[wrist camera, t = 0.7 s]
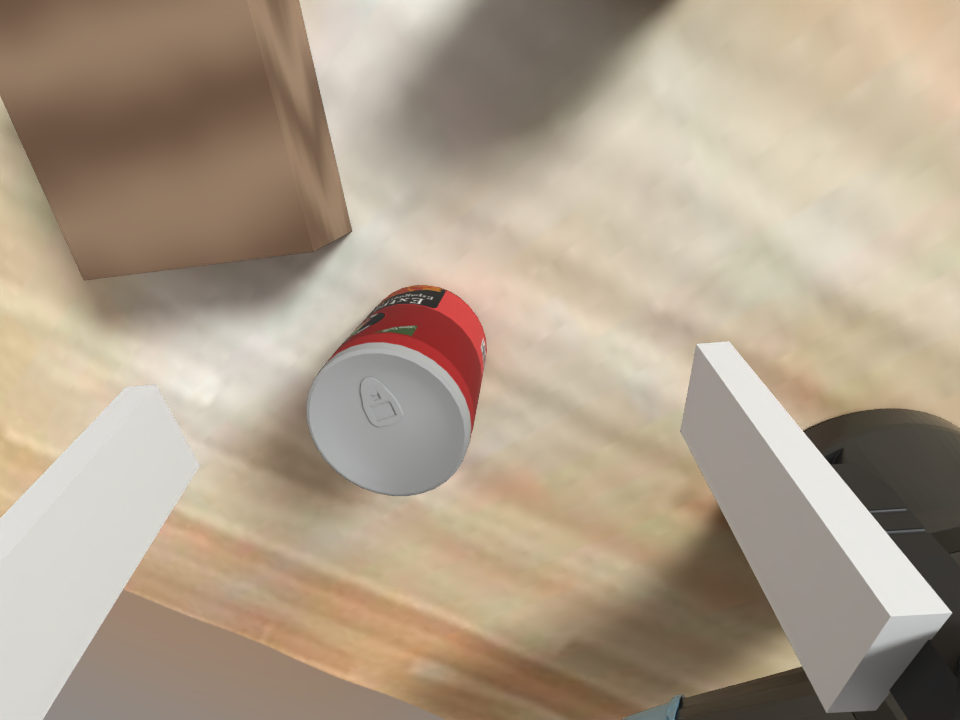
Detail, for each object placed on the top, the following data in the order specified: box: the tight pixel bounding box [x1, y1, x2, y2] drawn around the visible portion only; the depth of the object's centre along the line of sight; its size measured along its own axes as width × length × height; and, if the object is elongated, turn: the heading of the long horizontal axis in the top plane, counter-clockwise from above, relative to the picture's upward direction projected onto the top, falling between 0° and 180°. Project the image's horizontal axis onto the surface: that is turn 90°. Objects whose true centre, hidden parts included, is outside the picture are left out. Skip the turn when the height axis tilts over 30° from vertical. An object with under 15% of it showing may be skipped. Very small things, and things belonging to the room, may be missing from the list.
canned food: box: [306, 285, 487, 496], centre depth 28 cm, size 8×8×11 cm
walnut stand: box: [0, 0, 352, 280], centre depth 26 cm, size 13×13×6 cm
